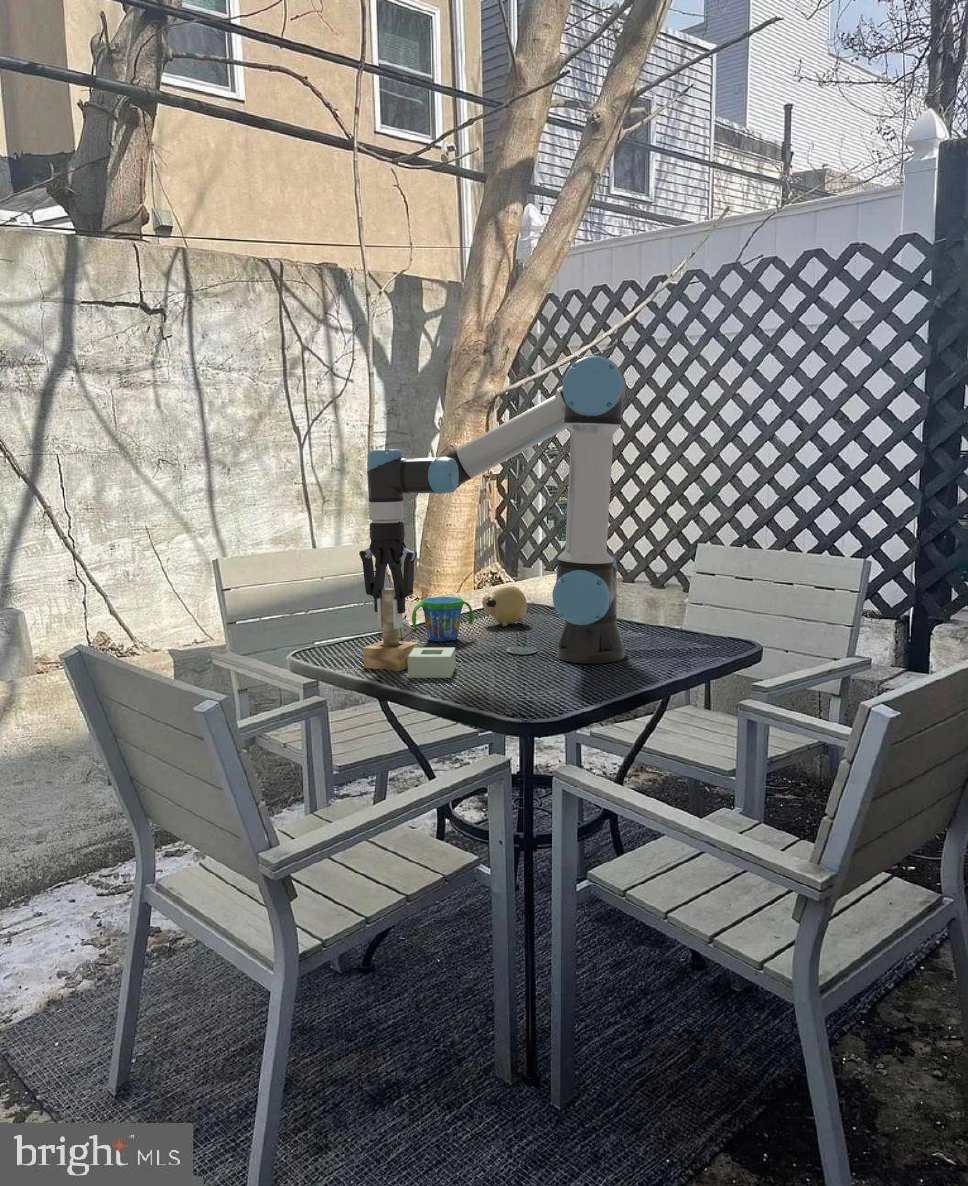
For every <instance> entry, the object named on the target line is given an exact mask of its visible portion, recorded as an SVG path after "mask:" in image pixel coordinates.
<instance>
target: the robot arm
mask: <svg viewBox="0 0 968 1186" xmlns="http://www.w3.org/2000/svg"><path fill="white" fill-rule="evenodd" d="M626 396H627V381H626V378H625V375H624V373H623V372H622V371H621V369H620V368H619V367H618V365H617V364H616V363H615V362H614V361H612V360H611V359H609V358H607V357H605V356H598V355H592V356H591V355H590V356H585V357H583V358H580V359H578V360H577V361H575V362H573V364H572V365H571V366H570V367H569V368H568V369H567V371H566V373H565V375H564V378H563V380H562V386H559V387H558V388H557V389H556V393H555V395H553V396H551V397H550V398H547V399H546V400H544V401H542V402H540V403H538V404H536V405H535V406H533V407H530V408H529V409H527V410H526V411H524V412H522V413H520V414H518V415H517V416H516V415H515V417H513V418H510V419H509V420H507V421H505V422H504V423H501V424H499V425H497V426H496V427H494V428H492V429H490V430H489V431H487V432H484V433H483V434H482V435H479V436H478V437H476V438H474V439H472V440H469V441H468V442H467V443H465V444H462V445H461V446H459V447H457V448H456V449H454V450H452V451H449V452H448V453H445V454H444V455H441V456H440V457H439V456H438V457H420V458H419V457H417V458H416V457H414V458H406V457H403V453H402V451H401V449H397V448H396V449H371V450H370V451H368V453H367V459H366V460H367V462H366V466H367V467H366V468H367V469H366V474H367V475H366V476H367V490H368V491H367V492H368V520H369V521H371V522H370V523H369V525H368V527H369V539H370V544H369V546H368V547H369V548H366V549H363V550H360V551H359V556H360V559H361V561H362V569H363V580H364V588H365V595H367V596H372V597H373V605H374V607H373V608H374V612H375V613H377V628H378V629H383V619H382V591H381V589H385V588H384V587H385V580H386V570H387V567H388V568H389V569H390V573H391V578H392V584H393V588H394V590H395V596H396V597H394V599H393V624H394V629H398V628H401V627H403V619H402V618H403V614H404V613H405V612H406V598H407V597H410V596H412V595H413V594H414V580H415V579H414V576H415V575H414V574H415V561H416V558H417V556H418V553H417V551H415V550H410V549H408V548H407V546H406V544H405V523H404V522H403V521H402V520H404V517H405V515H404V494H437V495H442V494H450V493H454V492H456V491H457V489H458V488H459V487H461V486H462V485H463V484H465V483H467V482H468V481H469V480H471V479H474V478H475V477H478V476H479V475H481V474H483V473H485V472H487V471H488V470H491V469H492V468H495V467H496V466H498V465H499V464H502V463H504V462H505V461H507V460H509V459H510V460H511V458H514V457H515V456H517V455H519V454H521V453H523V452H524V451H527V450H528V449H530V448H532V447H534V446H536V445H538V444H540V443H542V442H544V441H546V440H547V439H549V438H551V437H554V436H555V435H557V434H559V433H561V432H562V431H565V430H568V431H569V433H570V448H569V464H568V465H569V466H568V467H569V468H568V471H569V472H568V483H567V485H568V488H567V490H568V491H567V505H566V506H567V509H566V529H565V546H564V550H563V552H561V553H560V554H559V555H558V556H557V561H556V562H557V563H556V564H557V565H556V580H555V581H556V582H555V584H554V586H553V589H552V594H551V595H552V602H553V603H552V604H553V607H554V609H555V610H556V612H557V613H558V615H559V616H560V617H561V618H562V619H563V620H564V624H563V628H562V630H561V635H560V637H559V641H558V644H557V645H556V646H557V647H556V648H557V649H556V654H557V655H556V657H557V658H558V659H559V660H561V661H564V662H568V663H574V664H587V665H588V664H591V665H593V664H597V665H598V664H608V663H614V662H618V661H621V660H623V659H624V658H625V644H624V643H623V639H622V635H621V632H620V629H619V627H618V623H617V620H618V619H617V606H618V605H617V598H618V597H617V594H618V593H617V583H618V582H617V572H618V567H617V559H616V558H615V557H614V556H611V555H610V554H609V552H608V551H607V549H608V533H609V532H608V531H609V514H610V513H609V512H610V497H611V481H612V480H611V479H612V463H613V447H614V446H613V445H614V435H615V433H617V431H618V430H619V429H621V427H622V422H623V421H622V420H623V404H624V401H625V399H626ZM373 557H374V558H375V560H373ZM402 558H403V560H404V561H403V563H402ZM402 565H403V571H402ZM374 568H375V569H374Z"/></svg>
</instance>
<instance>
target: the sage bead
mask: <svg viewBox="0 0 968 1186" xmlns="http://www.w3.org/2000/svg"><path fill="white" fill-rule="evenodd" d="M456 660H457V659H456V647H419V648H414V649H413V650H412V651H411V653H410V654H409V655H408V667H407V674H408V675H407V678H408V679H409V678H410V679H414V678H415V679H416V678H417V679H428V678H429V679H431V678H433V679H434V678H435V679H439V678H440V679H442V678H443V679H444V678H445V679H447V678H448V679H451V678H452V677H453V674H454V672H455V670H456V667H457V665H456V664H457V663H456V662H457V661H456Z"/></svg>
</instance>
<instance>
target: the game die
mask: <svg viewBox="0 0 968 1186" xmlns="http://www.w3.org/2000/svg"><path fill="white" fill-rule="evenodd" d="M407 617H408V616H407V615H404V617H402V619H403V627H401V628H398V634H399V641H406V642H412V641H411V640H412V638H413V635H414V632H417V631H418V628H416V629H415V628H414V627H413V626H412V625H411V624H410V623H409V622H408V620H407ZM378 638H383V631H382V632H381V634H379V635H378Z"/></svg>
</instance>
